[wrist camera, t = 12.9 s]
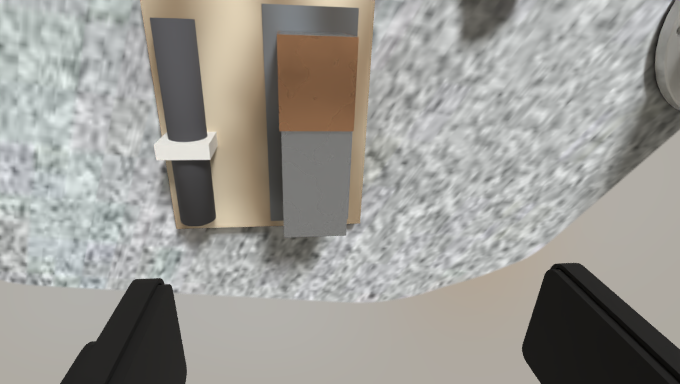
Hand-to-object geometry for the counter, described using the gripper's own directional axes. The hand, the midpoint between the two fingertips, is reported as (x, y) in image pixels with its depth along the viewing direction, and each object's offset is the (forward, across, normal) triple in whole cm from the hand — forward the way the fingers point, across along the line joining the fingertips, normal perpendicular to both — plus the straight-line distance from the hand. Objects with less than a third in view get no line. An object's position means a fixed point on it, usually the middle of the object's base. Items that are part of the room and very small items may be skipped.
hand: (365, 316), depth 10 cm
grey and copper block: (+19, 0, 0) cm, 19 cm away
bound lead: (+20, +9, 0) cm, 22 cm away
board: (+20, +4, 0) cm, 21 cm away
